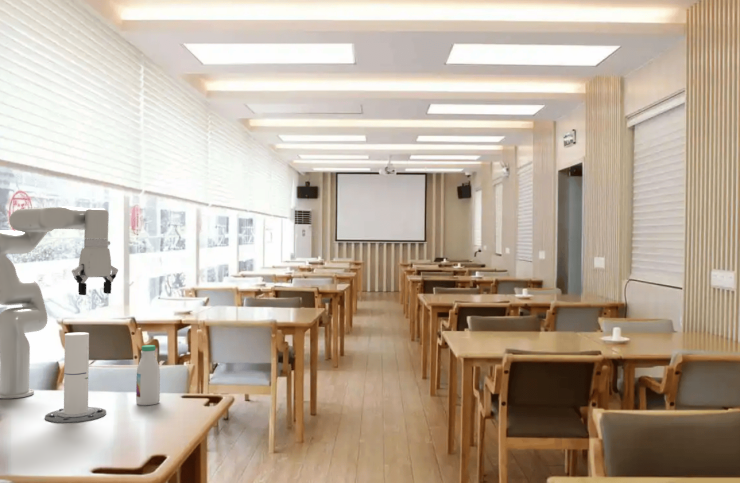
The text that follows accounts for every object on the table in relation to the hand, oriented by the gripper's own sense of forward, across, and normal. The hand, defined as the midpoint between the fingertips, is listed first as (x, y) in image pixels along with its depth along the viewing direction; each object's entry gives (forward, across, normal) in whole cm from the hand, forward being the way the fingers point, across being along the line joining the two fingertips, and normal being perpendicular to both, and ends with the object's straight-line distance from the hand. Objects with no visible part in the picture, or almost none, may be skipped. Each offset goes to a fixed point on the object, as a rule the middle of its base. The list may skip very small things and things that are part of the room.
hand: (95, 294), depth 232 cm
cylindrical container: (+37, +12, +9) cm, 40 cm away
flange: (+38, +12, +9) cm, 41 cm away
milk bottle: (+38, -12, +14) cm, 42 cm away
